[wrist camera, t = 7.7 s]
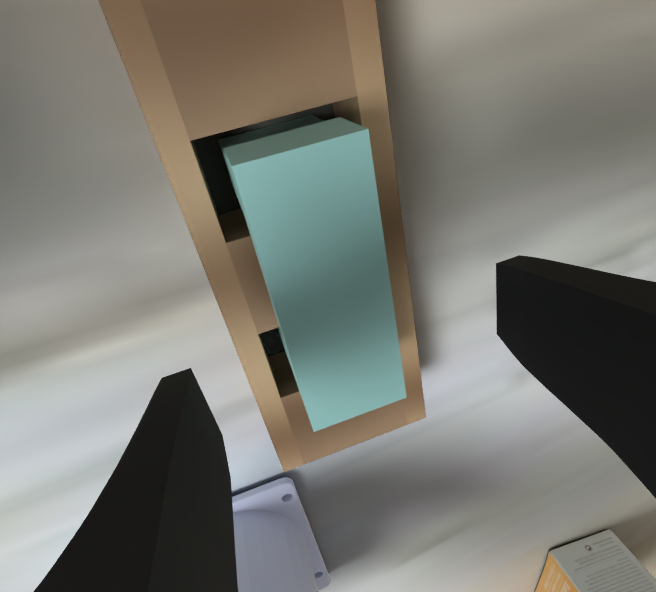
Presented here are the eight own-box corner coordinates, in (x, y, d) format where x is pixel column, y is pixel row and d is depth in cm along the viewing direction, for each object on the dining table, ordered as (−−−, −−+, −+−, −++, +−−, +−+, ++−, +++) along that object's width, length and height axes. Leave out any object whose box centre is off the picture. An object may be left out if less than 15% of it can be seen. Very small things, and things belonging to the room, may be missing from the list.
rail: (400, 379, 20) (425, 417, 18) (272, 426, 19) (284, 472, 17) (331, -64, 12) (364, -87, 10) (104, -16, 11) (86, -30, 9)
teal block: (353, 316, 18) (406, 397, 14) (281, 340, 18) (313, 432, 13) (310, 104, 14) (368, 128, 10) (214, 129, 13) (231, 166, 9)
